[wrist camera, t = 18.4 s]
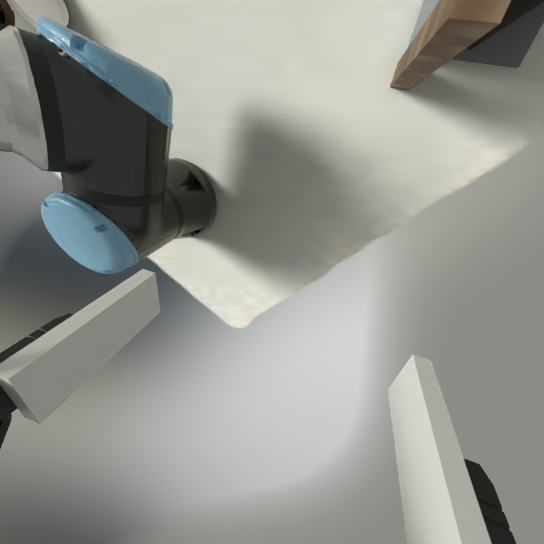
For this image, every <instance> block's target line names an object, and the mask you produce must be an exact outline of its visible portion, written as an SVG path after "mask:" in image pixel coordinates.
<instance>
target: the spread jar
mask: <svg viewBox="0 0 544 544" xmlns="http://www.w3.org/2000/svg"><path fill="white" fill-rule="evenodd" d="M40 16H45V17H47V18H49V19H52V20H53V21H55V22H57V23H59V24H61V25H63V26H65V27H67V25H68V22H69V14H68V11H67V8H66V6H65V3H64V2H63V0H0V31H1V30H3V29H4V28H6V27H7V26H9V25H11V26H14V27H17V28H20V29H23V30H26V31H29V32H32V33H34V34H39V32H38V31H37V30H36V24H37V23H38V19H39V17H40Z"/></svg>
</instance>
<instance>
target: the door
mask: <svg viewBox="0 0 544 544" xmlns="http://www.w3.org/2000/svg"><path fill="white" fill-rule="evenodd" d="M438 2H439V0H424V2H423V5H422V8H421V11H420V14H419V17H418V20H417V23H416V26H415V29H414V32H413V34H412V37H411V40H410V43H409V46H410V44H411V43H412V41H413V40H414V38H415V36H416V35H417V33H418V32H419V30H420V29H421V27H422V26H423V24H424V23H425V21H426V20H427V18H428V17H429V15H430V14H431V12H432V11H433V9H434V8H435V6H436V5H437V3H438ZM409 46H408V47H409Z"/></svg>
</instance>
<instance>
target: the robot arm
mask: <svg viewBox="0 0 544 544" xmlns="http://www.w3.org/2000/svg"><path fill="white" fill-rule="evenodd" d="M36 30H37V31H38V32H39V34H34V33H32V32H29V31H26V30H23V29H20V28H17V27H14V26H11V25H9V26H7V27H6V28H4V29H3V30H1V31H0V151H3V152H14V153H15V154H18V155H20V156H22V157H23V158H25V159H26V160H27V161H29V162H30V163H32V164H33V165H34V166H36V167H37V168H39V169H40V170H42V171H53V172H61V177H62V184H63V192H54V193H52V194H51V195H50V196H48V197H47V198H46V200H44V201H43V202H42V205H41V214H42V217H43V221H44V223H45V225H46V227H47V229H48V231H49V232H50V234H51V235H52V237H53V238H54V240H55V241H56V242H57V243H58V244H59V246H60V247H61V248H63V250H64V251H65V252H66V253H67V254H68V255H70V256H71V257H72V258H73V259H74V260H76V261H77V262H79V263H80V264H82V265H83V266H85V267H87V268H89V269H91V270H94V271H96V272H100V273H106V274H109V273H117V272H119V271H121V270H123V269H125V268H127V267H129V266H133V265H135V264H137V263H138V262H139V261H140V260H142V259H143V258H145V257H147V256H148V255H150V254H151V253H153V252H154V251H156V250H158V249H159V248H161V247H162V246H164V245H165V244H167V243H169V242H170V241H172V240H173V239H179V238H188V237H194V236H196V235H199V234H200V233H202V232H203V231H205V230H206V229H207V228H209V226H210V225H211V224H212V222H213V220H214V218H215V214H216V199H215V194H214V191H213V189H212V186H211V184H210V182H209V181H208V179H207V178H206V176H205V175H204V174H203V173H202V172H201V171H200V170H199V169H198V168H197V167H196V166H194V165H193V164H191V163H190V162H188V161H185V160H182V159H177V158H172V159H169V150H170V141H171V131H172V129H173V124H172V109H173V95H172V91H171V89H170V87H169V85H168V83H167V82H166V81H165V80H164V79H163V78H162V77H160V76H159V75H157V74H156V73H154V72H152V71H150V70H148V69H147V68H145V67H143V66H141V65H139V64H137V63H136V62H134V61H132V60H130V59H128V58H126V57H124V56H122V55H120V54H118V53H116V52H115V51H113V50H111V49H109V48H107V47H105V46H103V45H101V44H99V43H97V42H95V41H93V40H92V39H90V38H88V37H86V36H84V35H82V34H80V33H78V32H76V31H74V30H72V29H70V28H67V27H65V26H63V25H61V24H59V23H57V22H55V21H53V20H52V19H49V18H47V17H45V16H40V17H39V19H38V23H37V24H36ZM159 312H160V307H159V299H158V291H157V284H156V275H155V273H153V272H150V271H147V270H144V269H142V270H141V271H139V272H138V273H136V274H135V275H133V276H132V277H130V278H129V279H127V280H126V281H124V282H123V283H121V284H120V285H118V286H117V287H115V288H113V289H112V290H110V291H109V292H108V293H106V294H105V295H103V296H101V297H100V298H98V299H97V300H95V301H94V302H93V303H91V304H89V305H88V306H86V307H85V308H83V309H82V310H80V311H79V312H77V313H76V314H74V315H72V314H66V315H64V316H61V317H59V318H56V319H54V320H52V321H51V322H49V323H47V324H46V325H44V326H43V327H41V328H40V330H36V331H35V332H33V333H31V334H30V335H29V336H28V337H25V338H24V339H22V340H20V341H19V342H17V343H16V344H14V345H12V346H11V347H9V348H8V349H6V350H5V351H3V352H1V353H0V448H1V445H2V443H3V441H4V438H5V435H6V433H7V430H8V427H9V425H10V422H11V417H12V415H11V413H12V412H13V411H14V410H16V409H17V408H18V409H19V411H20V412H21V413H22V415H23V416H24V417H26V418H28V419H30V420H32V421H35V422H37V423H39V424H41V423H42V422H43V421H44V420H45V419H47V418H48V417H49V416H50V415H51V414H52V413H53V412H54V411H55V410H56V409H57V408H58V407H59V406H60V405H61V404H63V403H64V402H65V401H66V400H67V399H68V398H69V397H70V396H71V395H72V394H73V393H74V392H75V391H76V390H77V389H78V388H79V387H81V385H83V384H84V383H85V382H86V381H87V380H88V379H89V378H90V377H91V376H92V375H93V374H94V373H95V372H97V371H98V370H99V369H100V368H101V367H102V366H103V365H104V364H105V363H106V362H107V361H108V360H109V359H110V358H111V357H112V356H114V355H115V354H116V353H117V352H118V351H119V350H120V349H121V348H122V347H123V346H124V345H125V344H126V343H127V342H128V341H129V340H131V339H132V338H133V337H134V336H135V335H136V334H137V333H138V332H139V331H140V330H141V329H142V328H143V327H144V326H146V324H148V323H149V322H150V321H151V320H152V319H153V318H154V317H155V316H156V315H157V314H158V313H159ZM388 396H389V404H390V411H391V420H392V427H393V436H394V442H395V451H396V458H397V467H398V475H399V483H400V491H401V498H402V506H403V514H404V522H405V530H406V537H407V544H516V542H515V540H514V537H513V534H512V532H510V530H509V524H508V522H507V519H506V517H505V514H504V512H502V507H501V504H500V501H499V499H498V496H497V493H496V491H495V488H494V486H493V484H492V483H491V481H490V480H489V478H488V477H487V475H486V474H485V472H484V470H483V469H482V467H481V466H480V465H479V464H477V463H475V462H472V461H469V460H467V459H464V458H463V456H462V453H461V450H460V447H459V444H458V441H457V437H456V434H455V432H454V429H453V425H452V423H451V419H450V416H449V413H448V410H447V407H446V404H445V402H444V398H443V395H442V392H441V389H440V386H439V383H438V380H437V377H436V374H435V371H434V368H433V365H432V362H431V360H429V359H426V358H422V357H419V356H416V355H412V356H411V358H410V359H409V361H408V362H407V364H406V365H405V366H404V368H403V369H402V370H401V372H400V373H399V375H398V376H397V377H396V379H395V380H394V382H393V383H392V385H391V386H390V387H389V389H388Z"/></svg>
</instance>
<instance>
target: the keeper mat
mask: <svg viewBox="0 0 544 544" xmlns="http://www.w3.org/2000/svg"><path fill="white" fill-rule="evenodd" d="M543 21H544V3H542V4H541V5H539V6H537V7H536V8H534V9H533V10H531V11H530V12H528V13H527V14H525V15H524V16H522V17H520V18H519V19H517V20H516V21H514V22H513V23H511V24H510V25H508V26H507V27H505V28H504V29H502V30H500V31H499V32H497V33H496V34H494V35H493V36H491V37H490V38H488V39H487V40H485V41H483V42H482V43H480V44H479V45H477V46H476V47H474V48H473V49H471V50H470V51H469V48H468V47H467V48H466V49H464V50H463V51H462V52H460V53H459V54H457V55H456V56H455V57H453V58H452V59H455V60H463V61H471V62H479V63H487V64H495V65H502V66H510V67H519V66H520V64H521V62H522V60H523V58H524V56H525V55H526V53H527V51H528V49H529V47H530V45H531V44H532V42H533V40H534V38H535V36H536V34H537V32H538V31H539V29H540V27H541V25H542V23H543Z"/></svg>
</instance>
